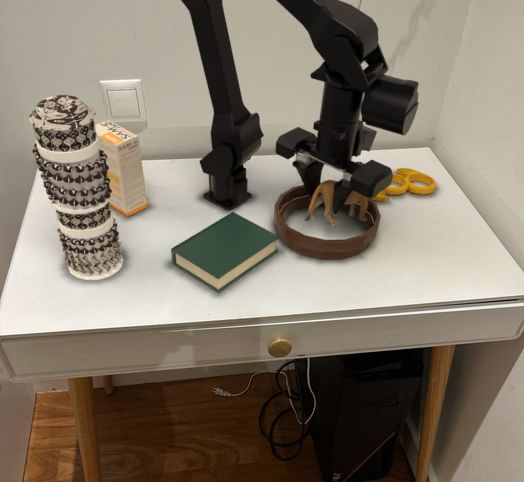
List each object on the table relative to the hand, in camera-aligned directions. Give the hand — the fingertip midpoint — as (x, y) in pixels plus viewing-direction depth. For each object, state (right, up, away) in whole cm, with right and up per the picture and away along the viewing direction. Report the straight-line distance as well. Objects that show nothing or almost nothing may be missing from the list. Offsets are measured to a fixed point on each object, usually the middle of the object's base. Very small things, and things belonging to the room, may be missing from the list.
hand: (324, 208), depth 93 cm
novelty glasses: (+14, +7, +14) cm, 21 cm away
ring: (0, -3, +3) cm, 4 cm away
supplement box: (-35, +3, +7) cm, 36 cm away
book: (-16, -9, -3) cm, 18 cm away
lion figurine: (+3, -1, +3) cm, 5 cm away
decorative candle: (-36, -10, -5) cm, 38 cm away
